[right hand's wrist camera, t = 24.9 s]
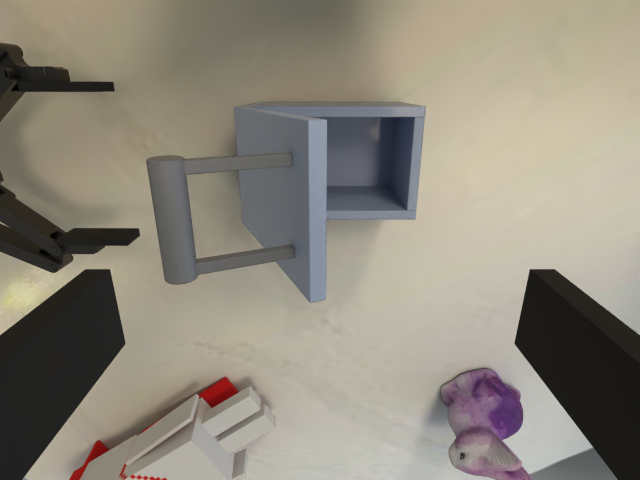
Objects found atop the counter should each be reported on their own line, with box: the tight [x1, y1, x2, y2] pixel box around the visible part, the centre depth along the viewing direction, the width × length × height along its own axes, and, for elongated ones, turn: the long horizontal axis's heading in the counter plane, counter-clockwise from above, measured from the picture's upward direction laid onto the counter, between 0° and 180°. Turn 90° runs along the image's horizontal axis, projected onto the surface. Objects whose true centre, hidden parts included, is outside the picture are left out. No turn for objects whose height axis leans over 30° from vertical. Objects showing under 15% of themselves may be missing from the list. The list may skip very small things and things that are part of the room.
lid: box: [146, 107, 327, 303], centre depth 27 cm, size 16×10×8 cm
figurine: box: [440, 369, 532, 480], centre depth 51 cm, size 9×10×15 cm
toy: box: [69, 377, 275, 480], centre depth 56 cm, size 12×13×30 cm
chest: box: [242, 102, 426, 219], centre depth 41 cm, size 16×10×11 cm, turn 90°
